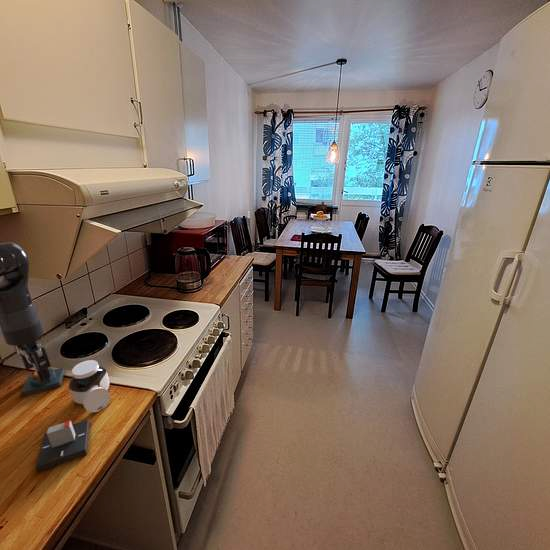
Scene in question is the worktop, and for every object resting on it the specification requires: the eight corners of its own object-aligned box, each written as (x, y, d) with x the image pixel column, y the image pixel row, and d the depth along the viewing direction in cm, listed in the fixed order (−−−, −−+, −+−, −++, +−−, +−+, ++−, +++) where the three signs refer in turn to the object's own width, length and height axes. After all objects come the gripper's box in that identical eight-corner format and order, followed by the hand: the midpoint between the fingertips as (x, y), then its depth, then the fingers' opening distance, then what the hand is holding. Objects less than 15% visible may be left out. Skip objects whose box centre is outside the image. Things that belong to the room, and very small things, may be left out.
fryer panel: (39, 473, 69) (35, 466, 68) (47, 439, 77) (44, 432, 76) (87, 455, 73) (85, 448, 72) (90, 425, 81) (88, 418, 80)
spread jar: (94, 383, 96) (87, 355, 92) (124, 388, 94) (118, 360, 90) (64, 412, 85) (53, 381, 81) (97, 418, 84) (88, 387, 79)
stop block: (23, 397, 90) (19, 388, 89) (29, 381, 97) (25, 371, 95) (61, 387, 94) (58, 377, 93) (64, 372, 101) (61, 363, 99)
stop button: (33, 381, 92) (32, 376, 91) (36, 374, 95) (34, 369, 94) (47, 377, 93) (46, 373, 93) (49, 370, 96) (48, 366, 96)
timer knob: (52, 448, 72) (46, 433, 70) (53, 441, 74) (47, 427, 72) (74, 440, 74) (69, 425, 72) (75, 434, 76) (70, 419, 74)
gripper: (50, 324, 71) (66, 375, 77) (25, 308, 78) (41, 356, 84) (13, 338, 65) (33, 392, 71) (-11, 320, 72) (9, 371, 78)
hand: (38, 373), depth 78 cm, fingers open, 8 cm apart
